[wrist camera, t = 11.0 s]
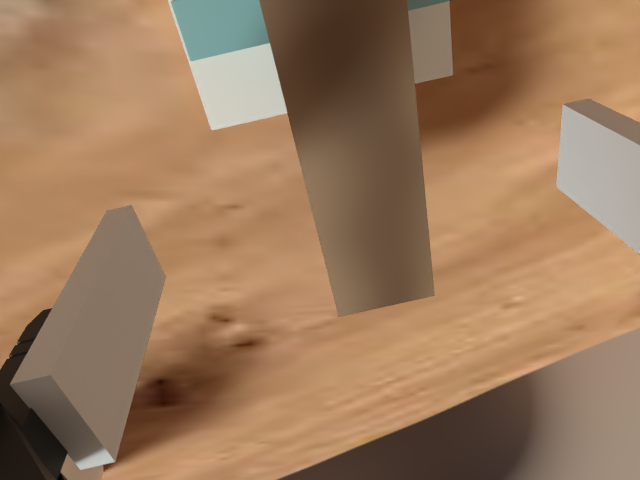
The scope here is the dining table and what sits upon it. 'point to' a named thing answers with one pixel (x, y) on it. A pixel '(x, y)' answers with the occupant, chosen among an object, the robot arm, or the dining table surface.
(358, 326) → the dining table surface
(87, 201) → the dining table surface
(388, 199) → the batten
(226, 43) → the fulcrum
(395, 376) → the dining table surface
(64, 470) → the drinking glass
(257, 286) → the dining table surface
